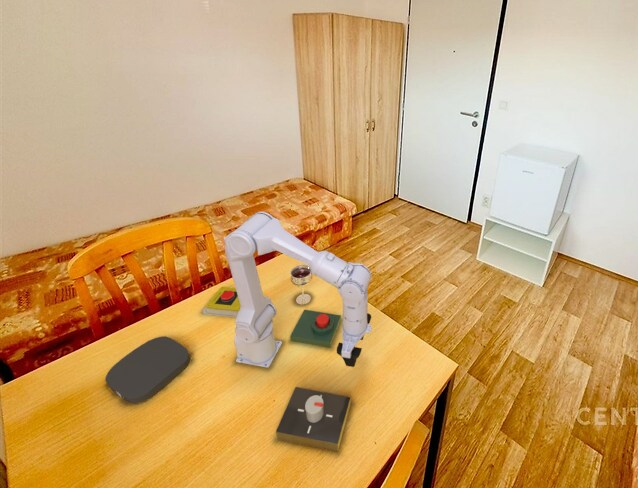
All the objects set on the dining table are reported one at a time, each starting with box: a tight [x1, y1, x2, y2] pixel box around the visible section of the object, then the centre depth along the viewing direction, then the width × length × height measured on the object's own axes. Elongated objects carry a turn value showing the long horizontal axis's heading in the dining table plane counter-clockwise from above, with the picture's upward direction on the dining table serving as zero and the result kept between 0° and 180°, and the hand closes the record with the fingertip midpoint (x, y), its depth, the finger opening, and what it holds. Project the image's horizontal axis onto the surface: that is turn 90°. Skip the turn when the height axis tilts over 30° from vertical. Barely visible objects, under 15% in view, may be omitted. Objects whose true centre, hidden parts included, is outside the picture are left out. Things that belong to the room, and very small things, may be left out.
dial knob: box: [305, 395, 324, 423], centre depth 72 cm, size 4×4×4 cm
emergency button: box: [202, 286, 241, 319], centre depth 102 cm, size 9×4×15 cm
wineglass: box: [289, 264, 313, 305], centre depth 105 cm, size 7×7×12 cm
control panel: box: [275, 386, 352, 452], centre depth 73 cm, size 14×10×3 cm
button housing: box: [290, 309, 342, 348], centre depth 96 cm, size 12×10×4 cm
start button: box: [316, 314, 329, 328], centre depth 94 cm, size 4×4×2 cm
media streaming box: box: [105, 336, 191, 405], centre depth 81 cm, size 15×15×3 cm
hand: (354, 351), depth 80 cm, fingers open, 7 cm apart
